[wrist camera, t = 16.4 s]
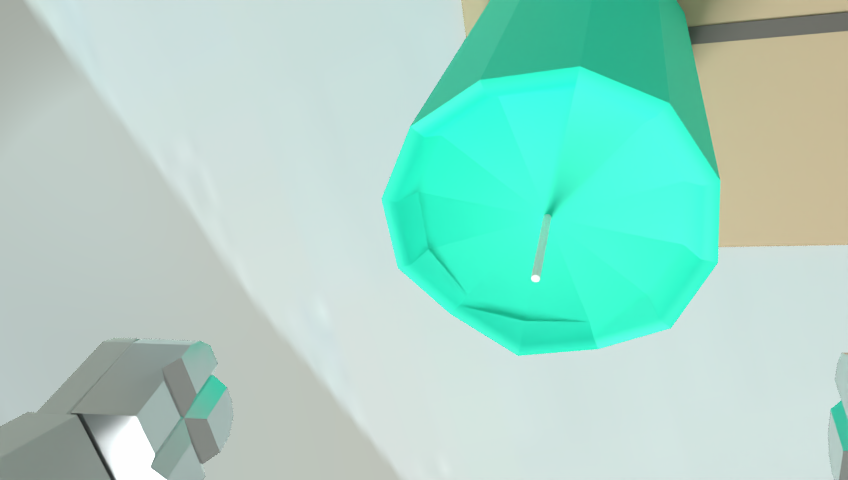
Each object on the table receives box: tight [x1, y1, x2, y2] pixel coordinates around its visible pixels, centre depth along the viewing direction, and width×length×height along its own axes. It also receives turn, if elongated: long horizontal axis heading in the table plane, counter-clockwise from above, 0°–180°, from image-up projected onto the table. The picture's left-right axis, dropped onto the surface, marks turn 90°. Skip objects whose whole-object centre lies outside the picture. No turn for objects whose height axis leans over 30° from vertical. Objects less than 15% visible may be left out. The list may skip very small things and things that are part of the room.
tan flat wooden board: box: [461, 0, 848, 247], centre depth 20 cm, size 18×14×1 cm
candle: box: [382, 0, 721, 356], centre depth 17 cm, size 6×6×12 cm
